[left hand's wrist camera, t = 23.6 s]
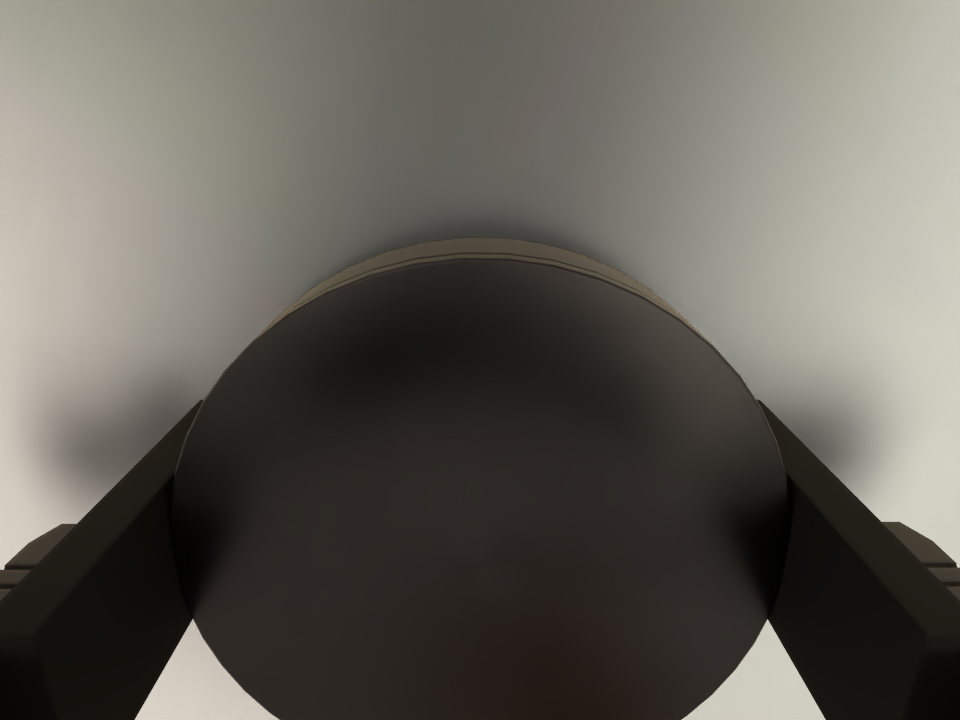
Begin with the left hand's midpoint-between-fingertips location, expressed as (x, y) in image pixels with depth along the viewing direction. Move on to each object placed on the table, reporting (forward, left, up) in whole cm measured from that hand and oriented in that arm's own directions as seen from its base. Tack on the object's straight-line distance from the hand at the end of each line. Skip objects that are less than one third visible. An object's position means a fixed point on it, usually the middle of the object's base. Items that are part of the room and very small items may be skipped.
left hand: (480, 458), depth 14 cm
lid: (0, 0, +3) cm, 3 cm away
